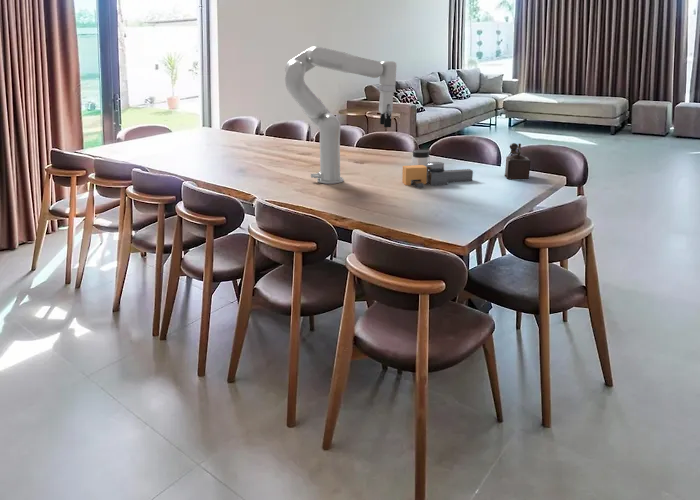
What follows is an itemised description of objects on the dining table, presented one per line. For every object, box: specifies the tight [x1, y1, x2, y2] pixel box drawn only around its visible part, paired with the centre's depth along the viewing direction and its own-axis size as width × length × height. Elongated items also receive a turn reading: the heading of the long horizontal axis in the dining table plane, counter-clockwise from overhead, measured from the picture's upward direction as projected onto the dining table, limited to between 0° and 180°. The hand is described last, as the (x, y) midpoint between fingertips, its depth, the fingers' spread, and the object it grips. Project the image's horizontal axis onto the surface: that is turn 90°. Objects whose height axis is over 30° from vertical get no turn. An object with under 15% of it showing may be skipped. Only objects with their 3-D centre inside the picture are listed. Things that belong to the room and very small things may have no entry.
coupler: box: [411, 161, 474, 189], centre depth 298 cm, size 30×18×9 cm, turn 101°
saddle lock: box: [401, 164, 427, 186], centre depth 296 cm, size 10×6×8 cm, turn 101°
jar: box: [411, 149, 431, 167], centre depth 312 cm, size 9×8×12 cm
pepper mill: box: [504, 142, 531, 180], centre depth 302 cm, size 16×11×18 cm
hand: (385, 125), depth 299 cm, fingers open, 9 cm apart
